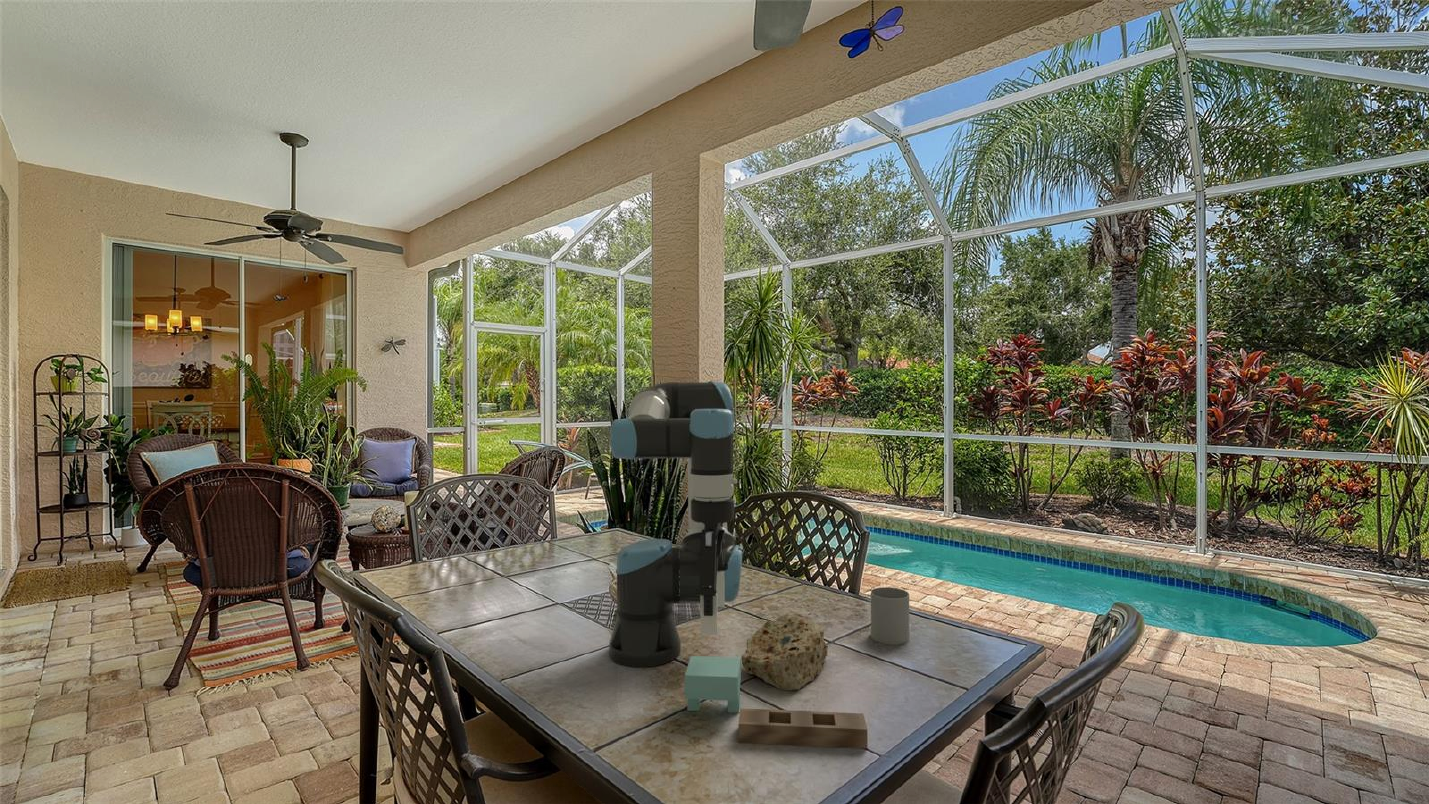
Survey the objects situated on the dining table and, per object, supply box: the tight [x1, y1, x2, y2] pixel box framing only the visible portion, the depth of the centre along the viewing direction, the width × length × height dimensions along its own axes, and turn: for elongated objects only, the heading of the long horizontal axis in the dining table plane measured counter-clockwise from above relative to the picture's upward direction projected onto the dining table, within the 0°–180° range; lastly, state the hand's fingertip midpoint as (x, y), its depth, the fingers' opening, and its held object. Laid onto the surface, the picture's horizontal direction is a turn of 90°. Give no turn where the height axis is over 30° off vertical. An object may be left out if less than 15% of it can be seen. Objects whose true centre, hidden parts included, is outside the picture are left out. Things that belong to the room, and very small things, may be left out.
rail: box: [737, 707, 868, 750], centre depth 105 cm, size 20×5×3 cm, turn 84°
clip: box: [684, 655, 742, 714], centre depth 114 cm, size 9×8×8 cm
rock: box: [741, 612, 829, 691], centre depth 131 cm, size 21×14×10 cm
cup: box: [870, 586, 910, 645], centre depth 146 cm, size 8×8×10 cm
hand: (713, 619), depth 114 cm, fingers open, 13 cm apart
